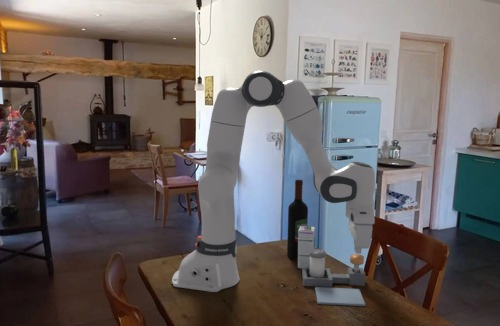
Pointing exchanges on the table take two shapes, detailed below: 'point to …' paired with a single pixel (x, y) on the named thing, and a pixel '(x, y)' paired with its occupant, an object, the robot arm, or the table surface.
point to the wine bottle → (296, 220)
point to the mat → (339, 296)
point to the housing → (334, 278)
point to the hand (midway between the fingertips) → (357, 252)
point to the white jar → (317, 263)
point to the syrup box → (305, 245)
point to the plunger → (356, 261)
